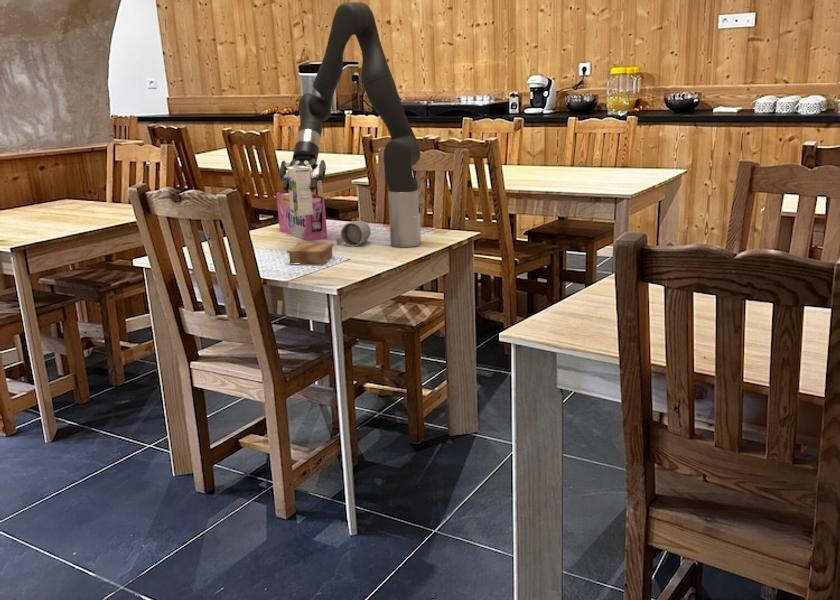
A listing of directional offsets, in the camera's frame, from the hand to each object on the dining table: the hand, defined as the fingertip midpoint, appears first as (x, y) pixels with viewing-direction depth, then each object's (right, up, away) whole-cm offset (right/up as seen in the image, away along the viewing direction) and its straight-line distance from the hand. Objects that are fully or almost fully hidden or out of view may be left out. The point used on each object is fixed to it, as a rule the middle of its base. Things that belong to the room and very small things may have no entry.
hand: (298, 190), depth 236 cm
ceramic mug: (+15, -16, +14) cm, 26 cm away
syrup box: (0, -7, +4) cm, 8 cm away
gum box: (-4, -11, +32) cm, 34 cm away
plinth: (+5, -22, -6) cm, 23 cm away
